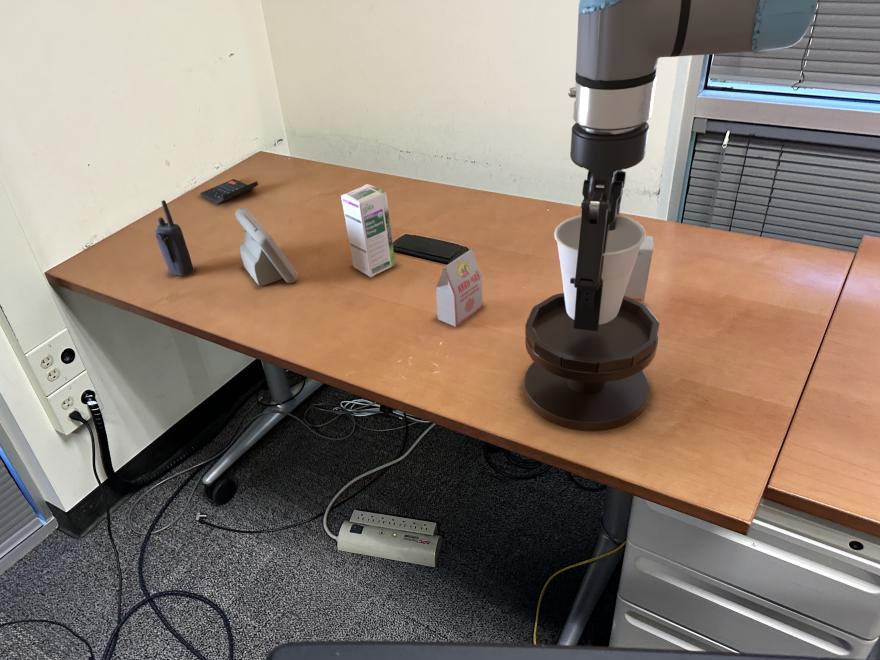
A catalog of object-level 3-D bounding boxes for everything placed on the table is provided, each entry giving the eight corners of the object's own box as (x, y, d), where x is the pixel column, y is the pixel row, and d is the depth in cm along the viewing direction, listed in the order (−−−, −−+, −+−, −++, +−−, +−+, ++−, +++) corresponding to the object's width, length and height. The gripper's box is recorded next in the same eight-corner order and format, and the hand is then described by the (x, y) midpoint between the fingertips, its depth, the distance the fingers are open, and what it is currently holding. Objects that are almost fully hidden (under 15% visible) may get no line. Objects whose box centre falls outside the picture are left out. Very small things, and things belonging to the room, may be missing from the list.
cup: (548, 334, 82) (552, 254, 75) (551, 290, 90) (555, 212, 83) (636, 337, 80) (649, 254, 73) (632, 291, 87) (643, 211, 80)
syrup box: (371, 278, 122) (360, 202, 113) (352, 267, 126) (340, 193, 117) (396, 266, 125) (387, 190, 116) (376, 255, 129) (366, 182, 120)
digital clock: (300, 285, 124) (289, 231, 117) (251, 297, 123) (237, 244, 116) (286, 246, 136) (274, 196, 130) (241, 257, 135) (228, 206, 128)
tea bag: (437, 319, 110) (433, 264, 104) (464, 300, 113) (462, 246, 107) (455, 326, 108) (452, 271, 101) (482, 307, 111) (481, 252, 105)
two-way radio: (198, 269, 133) (174, 197, 124) (185, 281, 130) (159, 208, 121) (176, 266, 136) (151, 195, 126) (162, 278, 133) (135, 206, 123)
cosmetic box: (600, 317, 105) (607, 247, 97) (602, 302, 108) (609, 233, 100) (642, 320, 103) (653, 249, 95) (643, 304, 106) (653, 235, 98)
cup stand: (654, 363, 95) (666, 296, 88) (639, 442, 84) (651, 372, 77) (538, 347, 101) (541, 283, 94) (511, 418, 90) (511, 351, 83)
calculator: (234, 182, 166) (231, 170, 164) (260, 193, 158) (257, 181, 156) (201, 196, 161) (197, 184, 160) (226, 208, 154) (223, 196, 152)
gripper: (590, 87, 78) (577, 261, 93) (550, 161, 64) (542, 353, 78) (660, 87, 76) (636, 267, 90) (635, 164, 61) (611, 363, 76)
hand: (592, 307), depth 84 cm, fingers closed on cup, 8 cm apart
